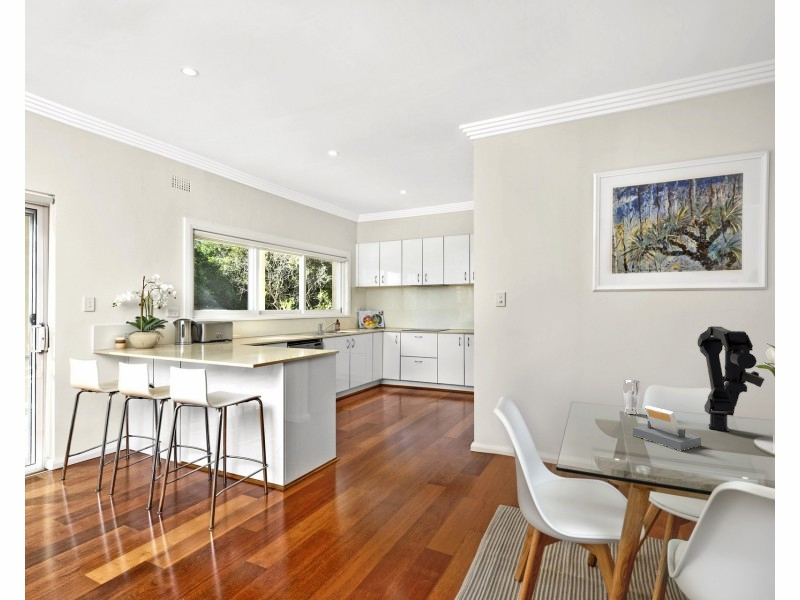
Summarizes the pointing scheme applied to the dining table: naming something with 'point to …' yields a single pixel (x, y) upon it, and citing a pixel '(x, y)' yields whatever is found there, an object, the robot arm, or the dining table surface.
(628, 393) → the beer glass
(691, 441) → the base
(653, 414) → the panel
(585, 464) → the dining table surface
